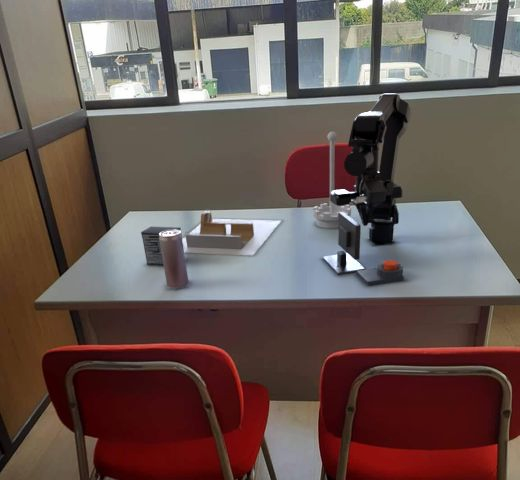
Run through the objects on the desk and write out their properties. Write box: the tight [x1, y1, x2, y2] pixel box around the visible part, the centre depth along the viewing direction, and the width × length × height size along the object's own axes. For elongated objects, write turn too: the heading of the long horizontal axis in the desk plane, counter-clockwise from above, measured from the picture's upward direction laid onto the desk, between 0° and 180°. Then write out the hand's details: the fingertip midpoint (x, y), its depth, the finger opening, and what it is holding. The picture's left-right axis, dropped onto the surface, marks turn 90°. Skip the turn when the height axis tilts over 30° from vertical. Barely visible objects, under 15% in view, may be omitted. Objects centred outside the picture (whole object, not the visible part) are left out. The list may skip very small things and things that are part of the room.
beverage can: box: [159, 229, 189, 290], centre depth 141 cm, size 6×6×15 cm
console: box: [355, 262, 405, 287], centre depth 139 cm, size 11×8×3 cm
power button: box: [383, 259, 399, 270], centre depth 138 cm, size 4×4×2 cm
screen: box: [337, 212, 362, 261], centre depth 145 cm, size 3×13×10 cm, turn 12°
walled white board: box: [182, 208, 282, 256], centre depth 177 cm, size 29×35×8 cm
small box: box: [140, 226, 182, 267], centre depth 158 cm, size 11×6×10 cm, turn 71°
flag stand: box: [312, 131, 352, 229], centre depth 175 cm, size 13×13×30 cm
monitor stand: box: [322, 250, 366, 276], centre depth 148 cm, size 8×13×4 cm, turn 12°
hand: (365, 225), depth 145 cm, fingers closed
